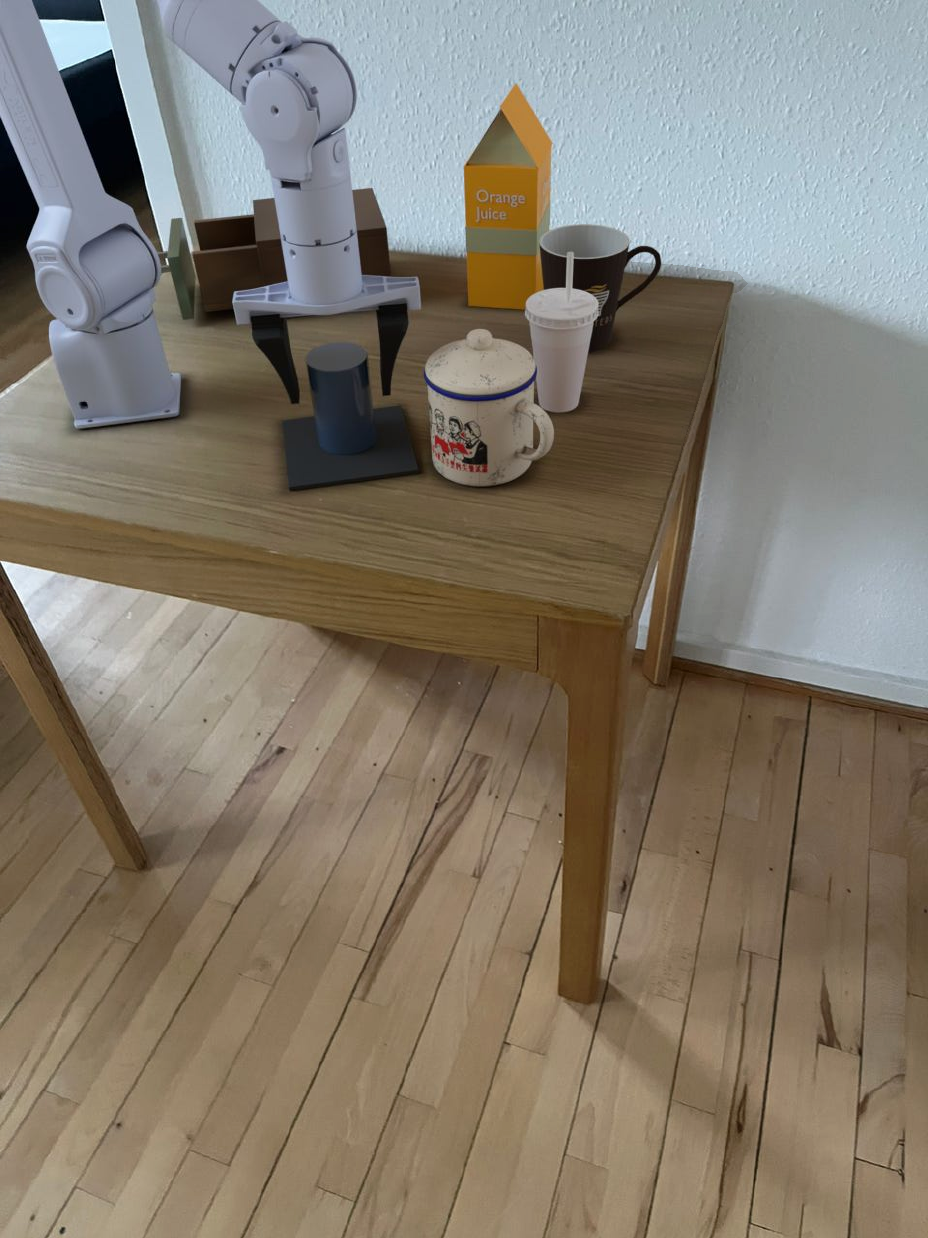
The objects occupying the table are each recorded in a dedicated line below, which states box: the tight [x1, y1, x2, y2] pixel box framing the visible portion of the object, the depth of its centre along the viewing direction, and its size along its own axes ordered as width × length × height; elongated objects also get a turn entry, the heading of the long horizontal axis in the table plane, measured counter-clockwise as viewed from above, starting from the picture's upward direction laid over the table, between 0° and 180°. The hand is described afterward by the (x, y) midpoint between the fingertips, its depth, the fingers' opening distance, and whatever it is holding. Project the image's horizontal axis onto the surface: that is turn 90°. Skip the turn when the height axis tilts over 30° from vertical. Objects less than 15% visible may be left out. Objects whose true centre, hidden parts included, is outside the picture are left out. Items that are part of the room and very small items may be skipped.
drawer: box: [157, 213, 264, 321], centre depth 105 cm, size 17×11×7 cm
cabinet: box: [252, 187, 392, 319], centre depth 106 cm, size 14×13×9 cm
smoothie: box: [524, 252, 599, 413], centre depth 84 cm, size 6×6×14 cm
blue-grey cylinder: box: [304, 341, 377, 455], centre depth 82 cm, size 5×5×8 cm
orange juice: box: [463, 82, 554, 311], centre depth 100 cm, size 8×9×20 cm
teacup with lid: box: [423, 328, 555, 487], centre depth 77 cm, size 12×9×12 cm
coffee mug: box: [539, 223, 662, 354], centre depth 94 cm, size 12×9×10 cm
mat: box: [282, 404, 420, 492], centre depth 84 cm, size 11×11×1 cm
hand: (340, 394), depth 81 cm, fingers open, 7 cm apart
